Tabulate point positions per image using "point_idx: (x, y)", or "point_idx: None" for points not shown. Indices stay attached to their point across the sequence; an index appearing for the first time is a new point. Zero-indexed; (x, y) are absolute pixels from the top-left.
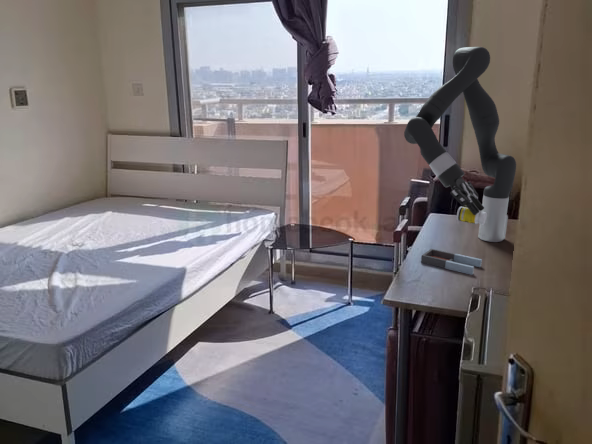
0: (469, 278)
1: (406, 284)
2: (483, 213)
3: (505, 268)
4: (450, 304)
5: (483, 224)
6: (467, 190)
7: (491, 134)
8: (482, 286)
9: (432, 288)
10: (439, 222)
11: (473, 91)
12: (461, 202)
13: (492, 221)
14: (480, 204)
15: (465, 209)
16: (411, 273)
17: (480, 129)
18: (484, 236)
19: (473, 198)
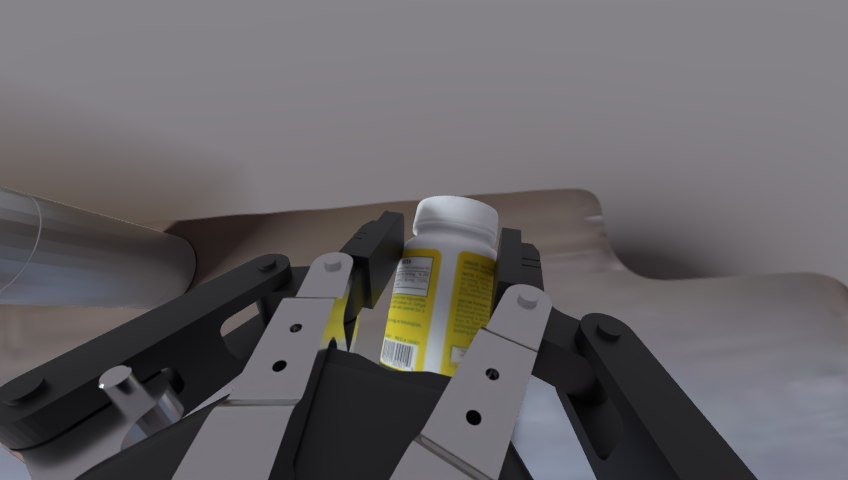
0: (547, 285)
1: None
2: (475, 208)
3: (408, 202)
4: (815, 310)
5: (126, 290)
6: (362, 384)
7: None
8: (592, 241)
9: (719, 390)
10: (22, 466)
11: None
12: (610, 405)
13: (122, 256)
14: (388, 231)
15: (462, 347)
16: None
17: None
18: (176, 286)
19: (350, 293)
